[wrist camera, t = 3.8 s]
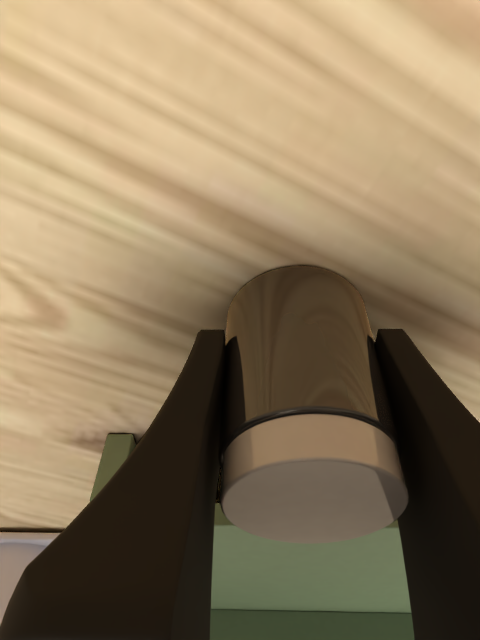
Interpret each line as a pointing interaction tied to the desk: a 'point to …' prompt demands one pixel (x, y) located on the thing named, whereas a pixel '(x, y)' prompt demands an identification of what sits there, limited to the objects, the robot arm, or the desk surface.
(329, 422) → the salt shaker
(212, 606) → the shelf
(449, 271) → the desk surface
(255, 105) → the desk surface
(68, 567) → the robot arm
